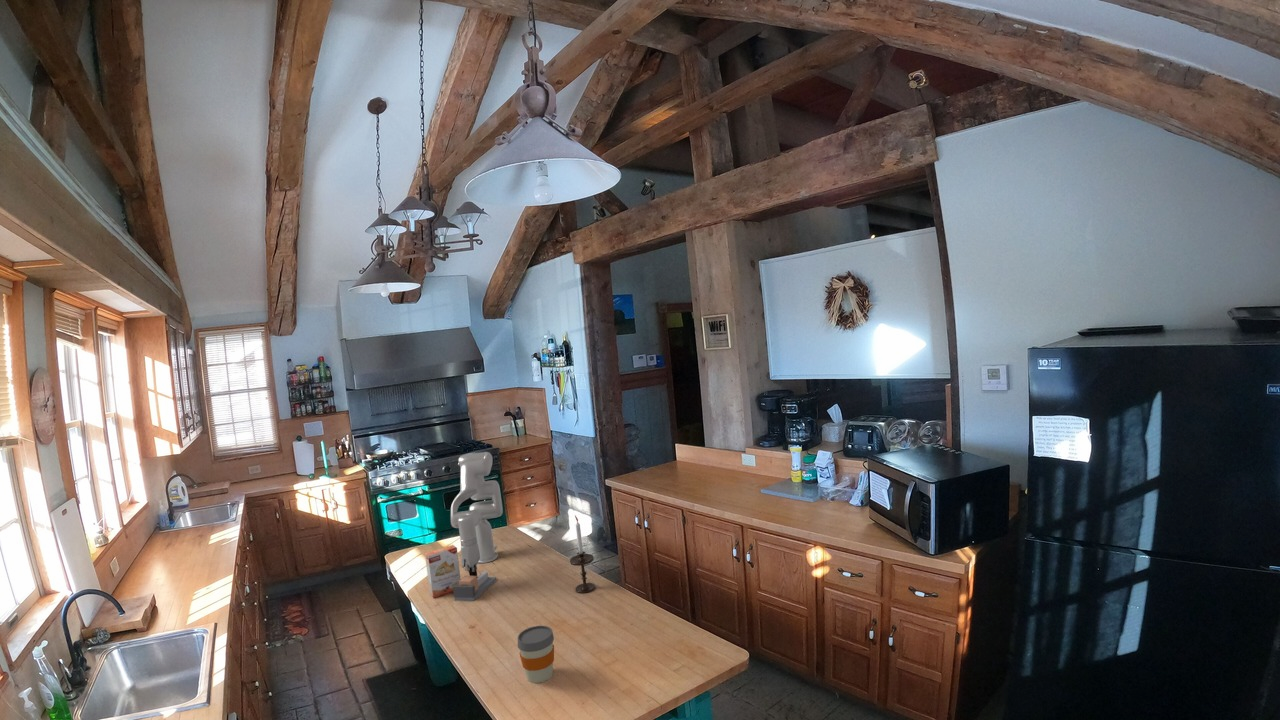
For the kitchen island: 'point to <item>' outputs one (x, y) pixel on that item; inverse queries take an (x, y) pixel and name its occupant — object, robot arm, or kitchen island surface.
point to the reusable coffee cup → (537, 653)
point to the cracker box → (442, 570)
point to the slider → (469, 581)
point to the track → (480, 589)
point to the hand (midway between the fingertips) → (473, 578)
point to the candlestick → (582, 564)
